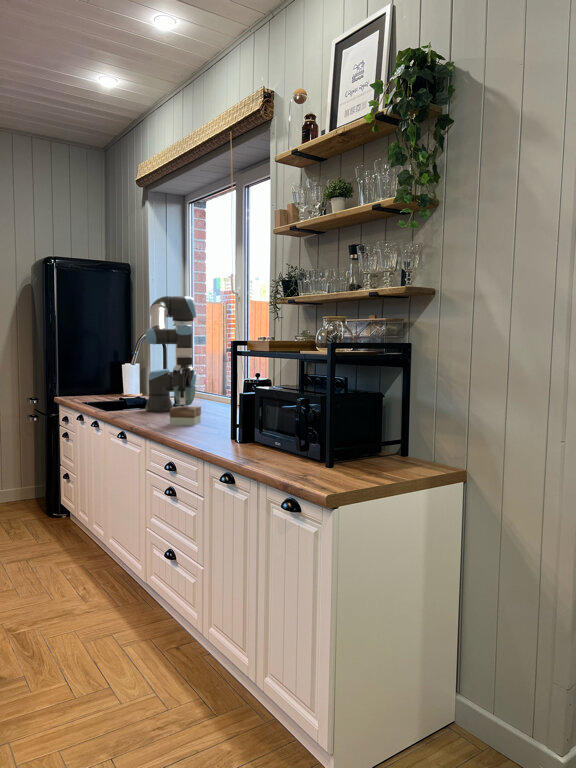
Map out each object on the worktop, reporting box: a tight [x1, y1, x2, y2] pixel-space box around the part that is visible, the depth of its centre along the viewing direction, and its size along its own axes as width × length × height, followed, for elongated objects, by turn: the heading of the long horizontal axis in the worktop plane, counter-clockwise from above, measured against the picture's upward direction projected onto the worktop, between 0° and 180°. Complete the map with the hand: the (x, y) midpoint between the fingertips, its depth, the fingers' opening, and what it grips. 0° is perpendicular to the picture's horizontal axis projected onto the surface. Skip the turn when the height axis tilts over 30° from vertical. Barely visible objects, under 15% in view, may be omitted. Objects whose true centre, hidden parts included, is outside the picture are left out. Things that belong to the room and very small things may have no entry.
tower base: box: [169, 415, 202, 426], centre depth 285 cm, size 12×12×4 cm
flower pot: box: [173, 385, 197, 406], centre depth 285 cm, size 9×9×9 cm
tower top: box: [169, 405, 202, 418], centre depth 285 cm, size 12×12×4 cm
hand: (185, 403), depth 285 cm, fingers closed on flower pot, 8 cm apart
